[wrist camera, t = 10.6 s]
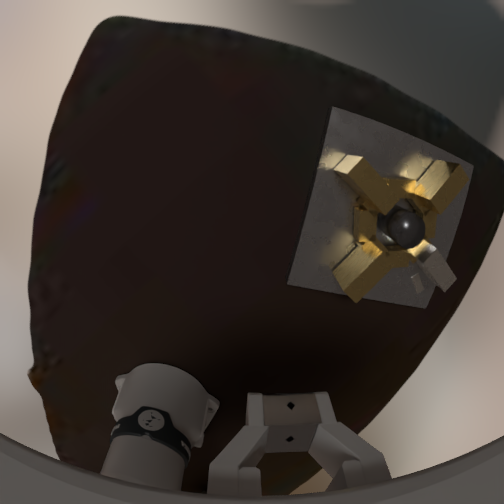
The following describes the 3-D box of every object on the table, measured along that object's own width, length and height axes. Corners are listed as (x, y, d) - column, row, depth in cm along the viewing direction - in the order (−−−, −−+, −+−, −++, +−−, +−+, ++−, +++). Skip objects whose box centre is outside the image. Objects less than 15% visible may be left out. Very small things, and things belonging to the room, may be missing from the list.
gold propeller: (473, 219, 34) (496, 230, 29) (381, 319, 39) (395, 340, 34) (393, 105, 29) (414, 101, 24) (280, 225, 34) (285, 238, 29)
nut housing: (420, 302, 40) (441, 326, 34) (285, 277, 39) (291, 304, 32) (465, 164, 33) (496, 170, 27) (328, 108, 32) (345, 100, 25)
